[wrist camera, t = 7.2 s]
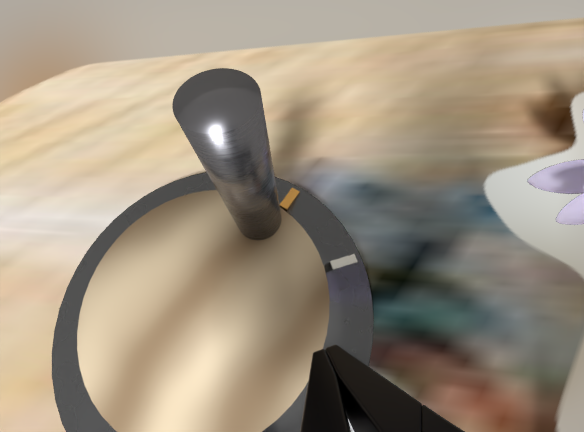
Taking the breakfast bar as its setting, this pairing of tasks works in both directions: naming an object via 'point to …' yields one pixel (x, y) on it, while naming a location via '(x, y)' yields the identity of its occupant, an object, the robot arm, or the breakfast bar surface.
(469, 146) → the breakfast bar surface
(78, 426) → the base
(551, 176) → the water lily
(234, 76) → the dial
